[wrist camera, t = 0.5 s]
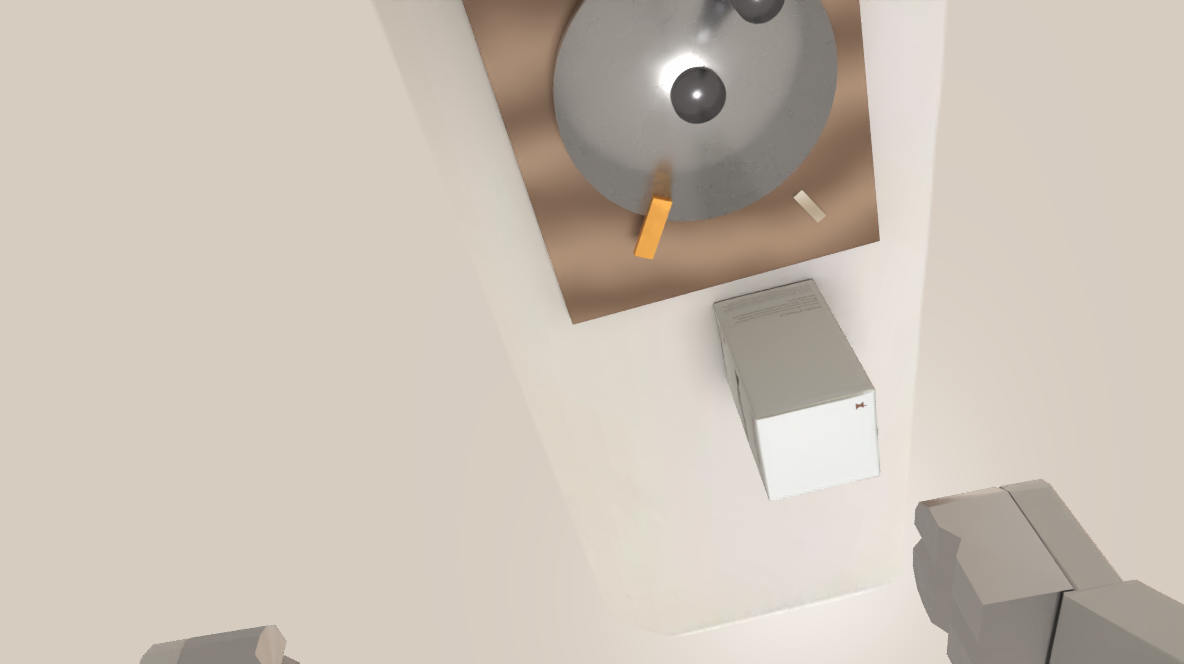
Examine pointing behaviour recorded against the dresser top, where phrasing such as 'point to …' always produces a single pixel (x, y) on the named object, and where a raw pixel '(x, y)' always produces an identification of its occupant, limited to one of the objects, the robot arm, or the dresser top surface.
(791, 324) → the supplement box
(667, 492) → the dresser top surface
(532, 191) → the base board
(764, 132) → the dial
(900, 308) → the dresser top surface
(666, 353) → the dresser top surface
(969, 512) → the robot arm
